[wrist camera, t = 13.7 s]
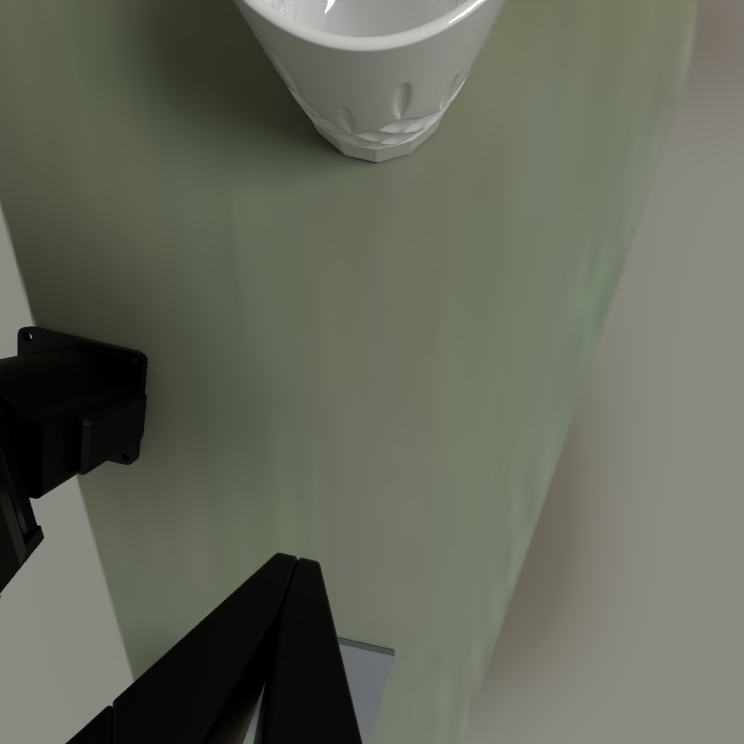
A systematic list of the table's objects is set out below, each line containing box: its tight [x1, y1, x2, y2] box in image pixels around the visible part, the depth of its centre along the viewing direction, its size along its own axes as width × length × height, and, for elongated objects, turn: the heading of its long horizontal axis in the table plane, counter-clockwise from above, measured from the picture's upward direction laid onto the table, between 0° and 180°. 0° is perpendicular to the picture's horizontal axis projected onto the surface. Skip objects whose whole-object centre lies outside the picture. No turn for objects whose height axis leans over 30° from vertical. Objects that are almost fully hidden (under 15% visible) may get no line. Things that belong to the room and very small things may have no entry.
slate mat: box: [248, 638, 395, 744], centre depth 25 cm, size 9×9×1 cm
